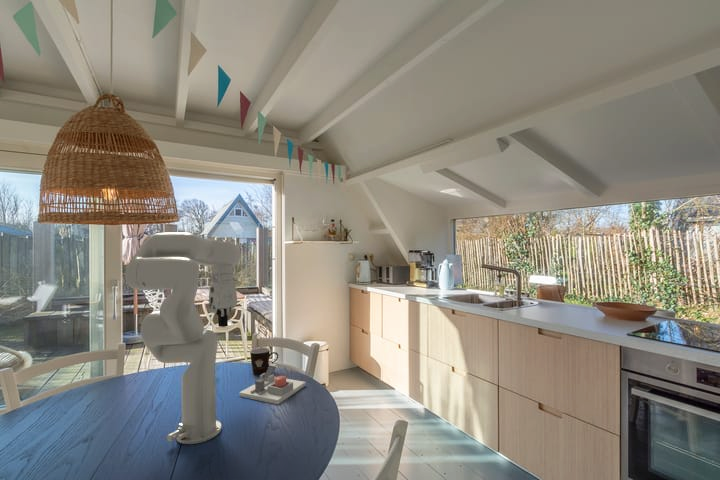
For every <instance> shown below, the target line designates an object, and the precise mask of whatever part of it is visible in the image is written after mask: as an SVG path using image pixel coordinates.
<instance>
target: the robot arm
mask: <svg viewBox="0 0 720 480" xmlns="http://www.w3.org/2000/svg"><path fill="white" fill-rule="evenodd" d="M241 256H242V255H241V250H240V248H239V246H238V245H237V244H235V243H234V242H230V241H229V242H228V241H224V240H216V239H211V238H205V237H202V236H199V235H197V234H194V233H191V232H158V233H154V234H151V236H149V237H148V238H147V239H146V240H145V241H144V242H143V243H142V244H141V246H140V247H139V249H138V250H136V252H135V254H134V255H133V256H132V258H130V260H129V262H128V264H127V265H126V268H125V273H124V278H125V282H126V284H127V285H128V286H129V287H130V288H131V289H133V290H136V291H161V290H163V291H164V290H166V291H167V290H172V291H171V293H170V294H168V295H167V296H166V297H165V298H164V299H163V301H162V302H161V305H160V307H159V310H158V311H157V310H156V311H153V312H150V313H148V314H147V315H146V316H145V317H143V320H142V321H141V326H140V336H141V340H142V342H143V344H144V346H145V347H146V348H147V349H148V351H149V352H150V354H152V356H153V357H154V358H155V359H156V360H157V361H158V362H160V363H163V364H175V363H176V364H177V363H189V366H188V367H187V369H185V370H184V372H183V373H182V376H181V380H180V383H181V384H180V388H181V389H180V390H181V391H180V392H181V393H180V394H181V422H180V423H179V424H178V428H177V429H176V430H175V431H173V432H171V433H169V434H168V435H166V440H167V442H172V441H174V440H176V441H177V442H178V443H180V444H183V445H195V444H201V443H204V442H207V441H209V440H212V439H213V438H215V437H217V436H218V434H220V433H221V431H222V422H220V421H219V420H217V408H216V407H217V403H216V402H217V401H216V399H217V397H216V395H217V394H216V361H217V352H218V346H219V345H218V344H219V338H218V335H217V334H216V333H215V331H213V330H210V329H205V324H204V321H203V318H202V316H201V314H200V312H199V310H198V308H197V306H196V304H195V300H196V296H197V291H198V289H199V281H200V280H199V279H200V267H199V266H200V265H201V266H205V267H211V276H210V277H209V280H211V282H210V285H209V290H208V307H209V309H210V310H209V311H210V312H209V313H211V314H216V316H217V319H218V320H217V321H218V324H217V325H218V327H219V328H225V327H229V321H228V319H229V318H228V317H229V315H230V312H231V310H233V309H235V307H236V306H237V304H238V296H237V295H238V294H237V293H238V292H237V285H236V282H235V280H234V275H233V272H234V271H233V268H234V266H237V265H238V264H239V262H240V260H241Z"/></svg>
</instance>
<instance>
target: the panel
mask: <svg viewBox="0 0 720 480" xmlns="http://www.w3.org/2000/svg"><path fill="white" fill-rule="evenodd" d="M265 374H266V373H263V374H261V375H259V379H262V380H264V384H265V390H263V391H261V392H255V383H254V384H252V385H251V386H248V387H247V388H245V389H243V390H241V391H239V395H238V396H239V397H241V398H246V399H251V400H255V401H260V402H264V403H270V404H275V405H279V404H280V403H282V402H283V401H285V400H287V399H288V398H289V397H291V396H292V395H294V394H296V393H297V392H298V391H300V390H301V389H303V388H304V387H306V381H303V380H302V381H301V380H296V379H291V378H286V386H284V387H283V388H279V387H275V380H274V379H275V377H276V376H275V374H274V373H273V375H271V376H269V377H268V380H267V379H264V376H265Z"/></svg>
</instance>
